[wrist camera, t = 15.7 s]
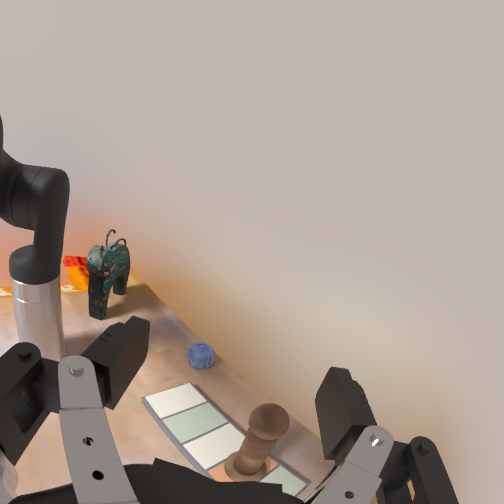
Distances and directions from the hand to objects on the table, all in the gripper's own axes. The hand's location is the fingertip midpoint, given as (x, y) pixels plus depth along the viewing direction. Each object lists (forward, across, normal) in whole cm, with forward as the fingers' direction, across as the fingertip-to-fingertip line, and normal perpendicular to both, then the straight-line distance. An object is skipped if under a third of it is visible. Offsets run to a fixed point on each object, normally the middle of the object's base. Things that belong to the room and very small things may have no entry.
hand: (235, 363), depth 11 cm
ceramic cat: (+46, +32, +30) cm, 64 cm away
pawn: (+11, -6, +28) cm, 30 cm away
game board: (+15, -2, +29) cm, 32 cm away
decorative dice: (+35, +5, +30) cm, 46 cm away
